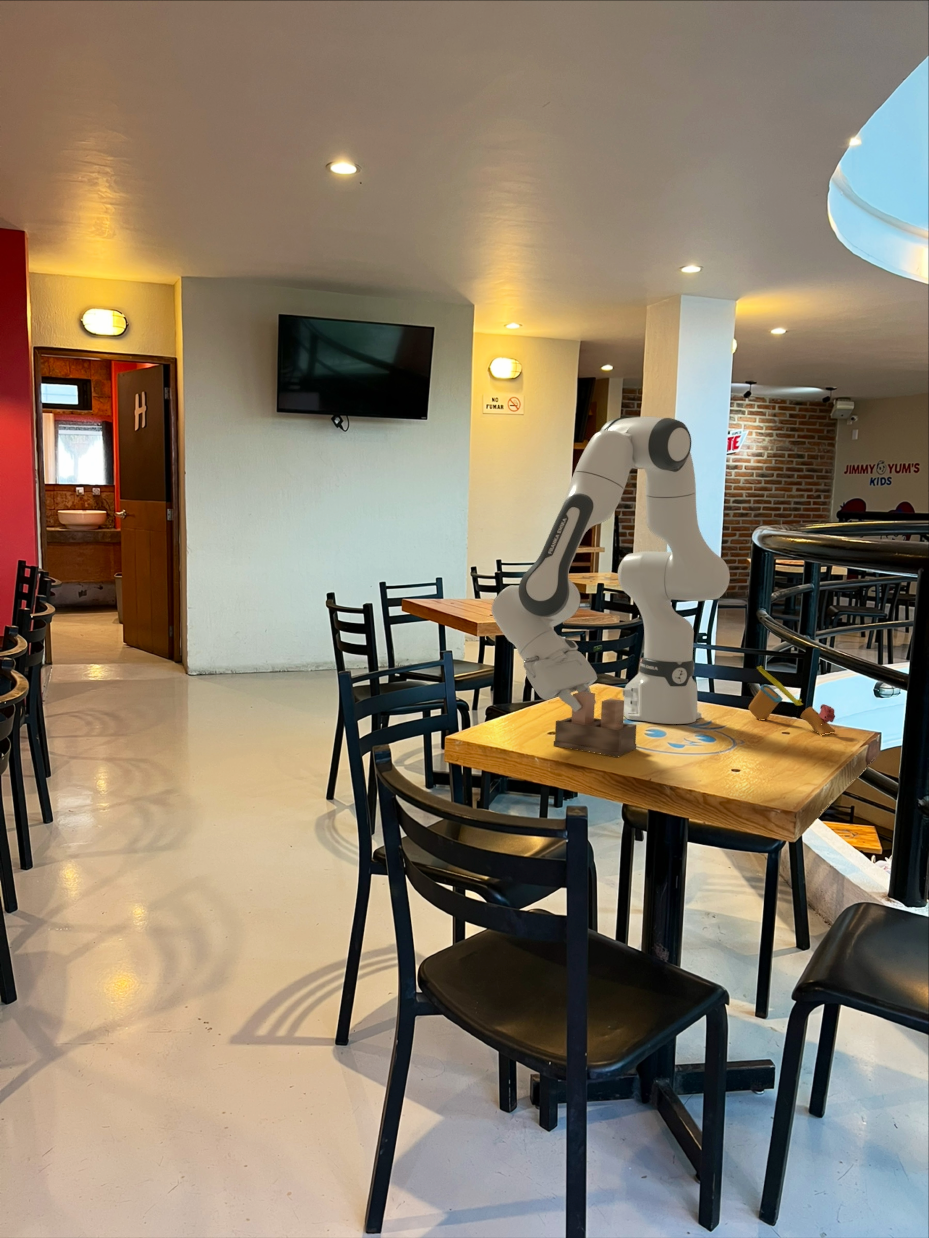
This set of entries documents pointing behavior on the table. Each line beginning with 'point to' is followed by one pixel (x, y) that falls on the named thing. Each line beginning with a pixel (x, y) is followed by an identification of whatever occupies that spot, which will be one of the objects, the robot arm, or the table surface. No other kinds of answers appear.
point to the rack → (599, 732)
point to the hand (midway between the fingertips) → (586, 707)
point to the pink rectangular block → (584, 708)
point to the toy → (770, 699)
